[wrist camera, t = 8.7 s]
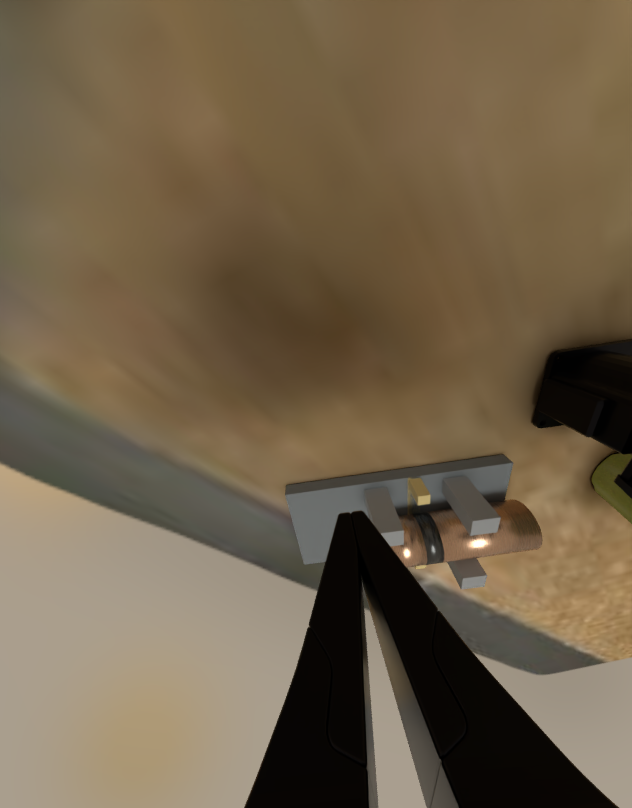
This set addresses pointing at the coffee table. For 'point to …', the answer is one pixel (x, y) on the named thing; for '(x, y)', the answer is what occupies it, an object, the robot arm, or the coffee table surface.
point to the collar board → (403, 504)
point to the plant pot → (613, 484)
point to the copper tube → (466, 535)
